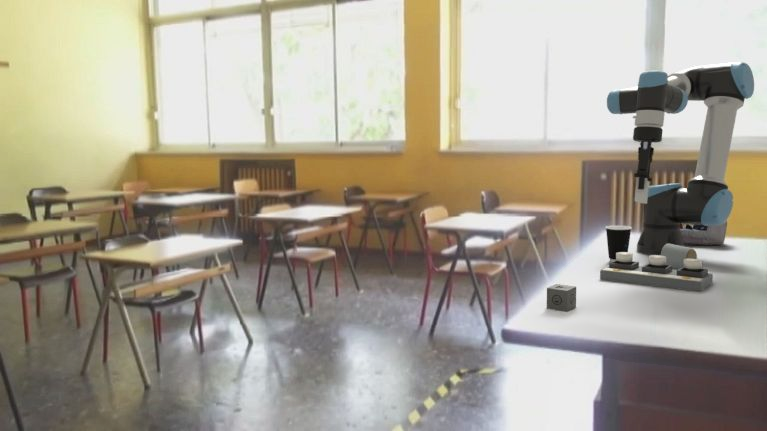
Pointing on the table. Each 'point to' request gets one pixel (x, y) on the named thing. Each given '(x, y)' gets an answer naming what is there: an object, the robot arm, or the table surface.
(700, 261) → the button
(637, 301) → the table surface
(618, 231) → the dixie cup
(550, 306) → the dice cube
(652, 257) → the middle button
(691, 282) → the button board
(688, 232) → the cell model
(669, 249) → the ceramic mug
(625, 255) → the button
